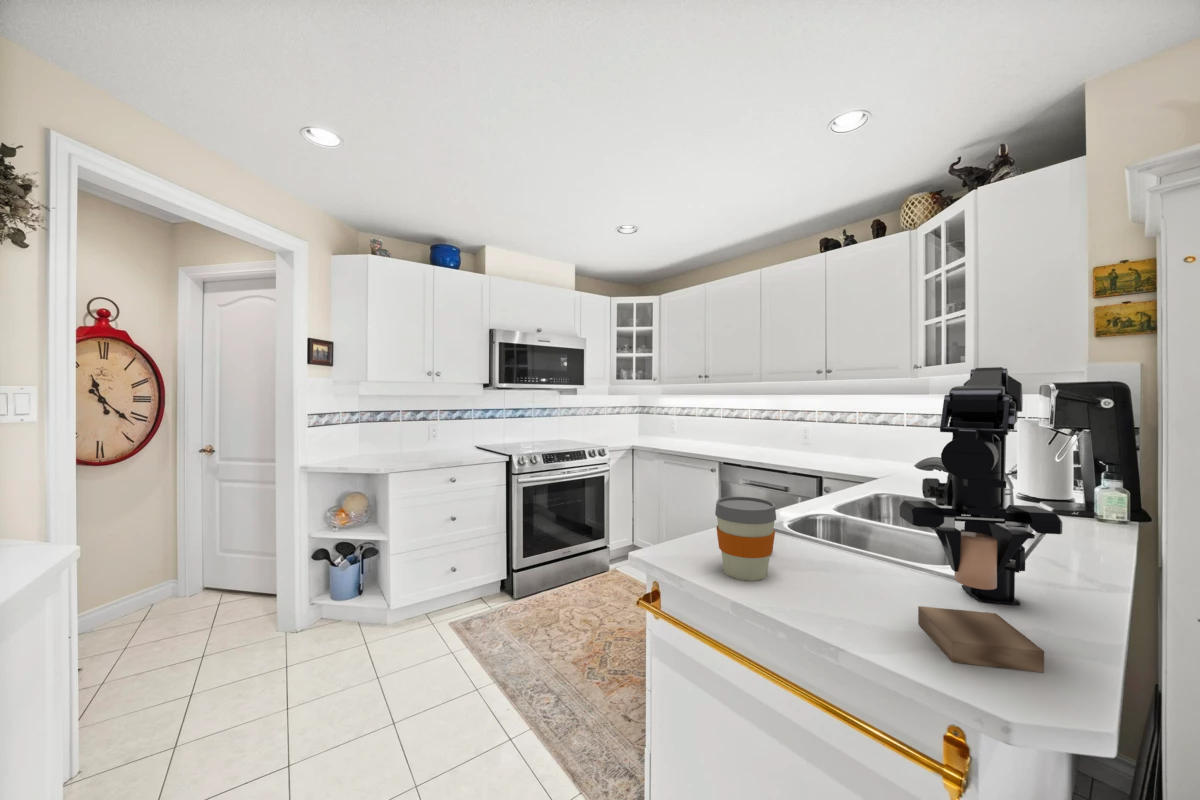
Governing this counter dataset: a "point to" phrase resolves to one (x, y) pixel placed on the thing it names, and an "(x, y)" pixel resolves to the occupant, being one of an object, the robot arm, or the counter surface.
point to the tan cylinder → (977, 561)
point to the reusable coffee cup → (745, 536)
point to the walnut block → (980, 639)
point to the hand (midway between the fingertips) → (975, 572)
